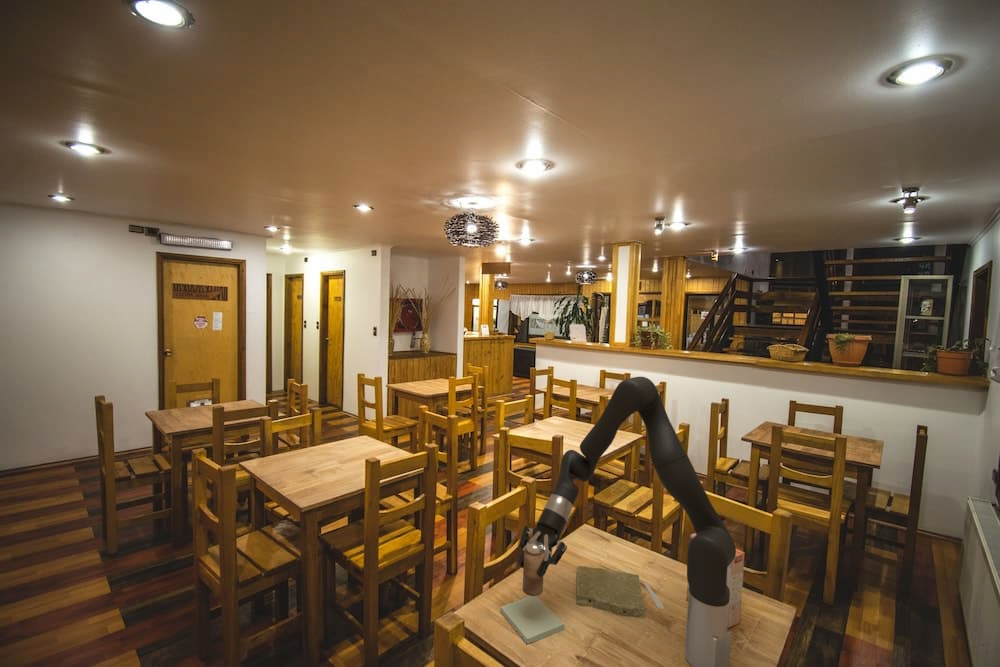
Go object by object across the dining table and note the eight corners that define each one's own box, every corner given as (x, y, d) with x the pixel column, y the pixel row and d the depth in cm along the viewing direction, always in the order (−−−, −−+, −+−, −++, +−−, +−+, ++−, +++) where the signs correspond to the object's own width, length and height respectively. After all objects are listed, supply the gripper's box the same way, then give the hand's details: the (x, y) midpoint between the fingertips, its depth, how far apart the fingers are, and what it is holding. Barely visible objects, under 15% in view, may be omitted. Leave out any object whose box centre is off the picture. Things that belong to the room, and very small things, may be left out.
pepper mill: (546, 592, 124) (548, 547, 123) (529, 598, 121) (531, 552, 120) (535, 581, 128) (537, 537, 127) (518, 586, 126) (520, 542, 125)
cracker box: (741, 623, 127) (746, 552, 126) (727, 629, 124) (732, 557, 123) (699, 594, 139) (703, 529, 138) (685, 599, 136) (689, 533, 135)
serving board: (563, 629, 122) (564, 624, 122) (527, 644, 116) (527, 639, 116) (534, 599, 134) (535, 594, 134) (500, 611, 128) (500, 606, 128)
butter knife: (655, 608, 131) (665, 608, 132) (624, 558, 158) (633, 558, 159) (655, 610, 131) (665, 610, 132) (624, 560, 158) (633, 559, 159)
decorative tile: (576, 572, 149) (577, 562, 149) (639, 582, 145) (639, 572, 145) (574, 609, 131) (574, 597, 131) (645, 621, 127) (646, 609, 127)
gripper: (530, 500, 133) (503, 555, 125) (572, 516, 124) (546, 577, 116) (540, 512, 138) (514, 565, 129) (581, 528, 129) (556, 587, 120)
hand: (529, 570), depth 123 cm, fingers closed on pepper mill, 5 cm apart
